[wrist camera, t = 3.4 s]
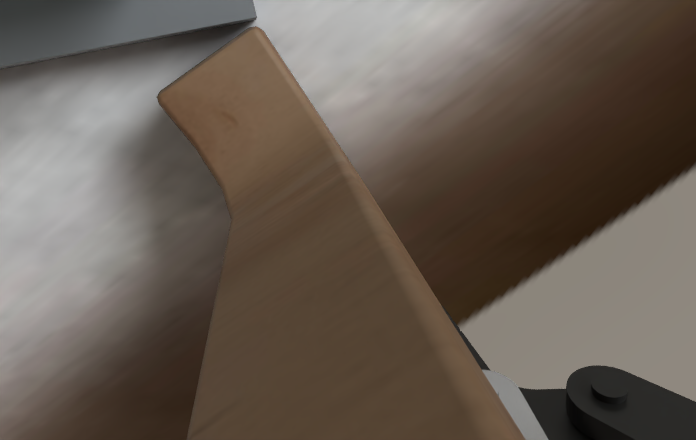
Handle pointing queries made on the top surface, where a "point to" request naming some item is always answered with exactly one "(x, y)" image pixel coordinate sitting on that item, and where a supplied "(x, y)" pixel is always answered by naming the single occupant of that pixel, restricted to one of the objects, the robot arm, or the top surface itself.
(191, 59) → the top surface
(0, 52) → the cradle jig
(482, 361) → the robot arm
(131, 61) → the top surface
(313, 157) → the wooden block
